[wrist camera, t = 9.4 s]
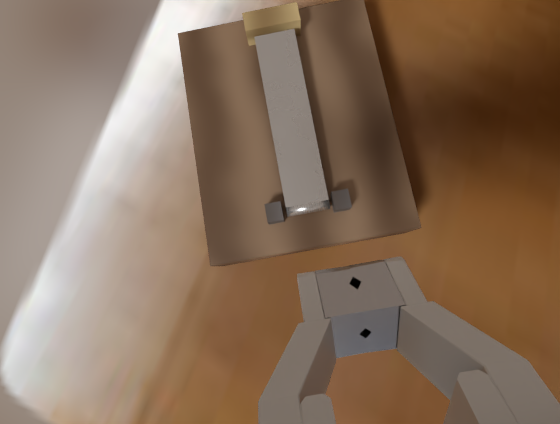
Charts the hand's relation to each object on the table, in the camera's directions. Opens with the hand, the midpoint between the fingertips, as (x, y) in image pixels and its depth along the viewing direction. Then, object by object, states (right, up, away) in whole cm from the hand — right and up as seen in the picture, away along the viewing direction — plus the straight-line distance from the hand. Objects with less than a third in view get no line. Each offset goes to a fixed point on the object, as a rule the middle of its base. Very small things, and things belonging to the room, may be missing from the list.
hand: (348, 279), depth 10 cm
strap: (-1, +9, +16) cm, 18 cm away
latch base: (-1, +8, +21) cm, 22 cm away
